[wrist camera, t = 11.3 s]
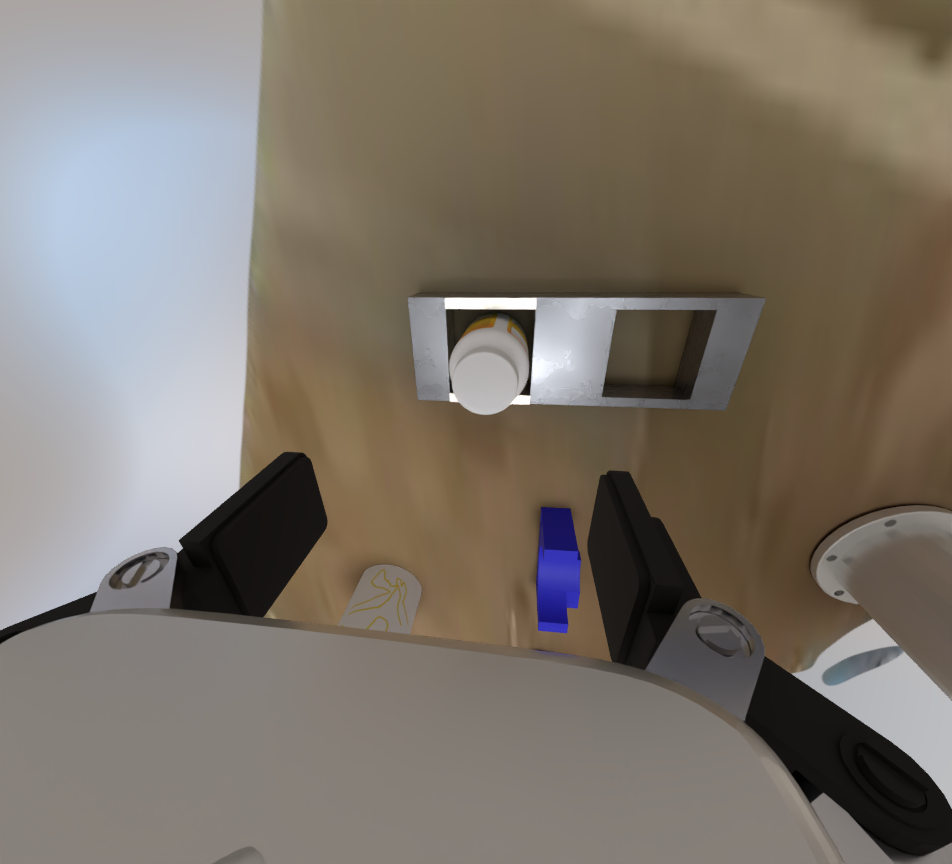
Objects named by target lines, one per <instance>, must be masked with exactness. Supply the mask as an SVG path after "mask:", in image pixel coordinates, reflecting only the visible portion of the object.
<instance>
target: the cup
mask: <svg viewBox="0 0 952 864" xmlns="http://www.w3.org/2000/svg"><path fill="white" fill-rule="evenodd" d="M421 593H422V588H421V585H420V583H419V581H418V580H417V578H416V577H415V576H414V575H413V574H411V573H410V572H408V571H407V570H405V569H403V568H400V567H398V566H394V565H388V564H380V565H375V566H372V567H370V568H368V569H367V570H365V572H364V573H363V575H362V577H361V579H360V581H359V583H358V585H357V587H356V589H355V591H354V593H353V595H352V597H351V599H350V602H349V604H348V606H347V608H346V610H345V612H344V614H343V616H342V618H341V620H340V622H339V624H338V626H343V627H351V628H360V629H369V630H377V631H386V632H394V633H403V634H410V631H411V628H412V625H413V621H414V618H415V614H416V611H417V607H418V604H419V600H420V597H421Z"/></svg>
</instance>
